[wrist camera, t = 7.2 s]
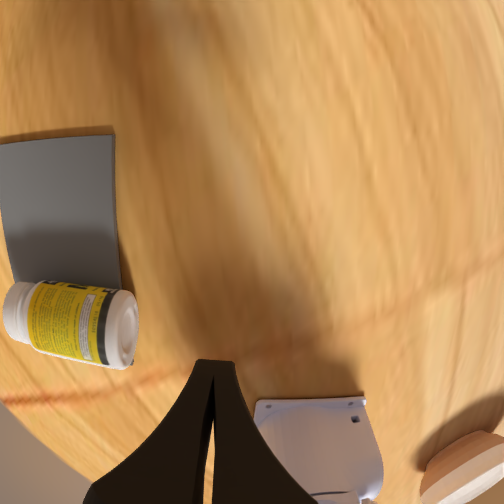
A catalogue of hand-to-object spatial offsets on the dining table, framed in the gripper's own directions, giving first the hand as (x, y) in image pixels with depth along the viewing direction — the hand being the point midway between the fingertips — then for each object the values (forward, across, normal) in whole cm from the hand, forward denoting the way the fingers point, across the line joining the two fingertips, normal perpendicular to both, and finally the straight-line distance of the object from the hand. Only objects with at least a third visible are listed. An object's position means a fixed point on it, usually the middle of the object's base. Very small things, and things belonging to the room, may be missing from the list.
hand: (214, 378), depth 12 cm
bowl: (+9, -35, +29) cm, 46 cm away
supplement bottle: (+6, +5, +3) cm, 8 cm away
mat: (+8, +11, 0) cm, 14 cm away
